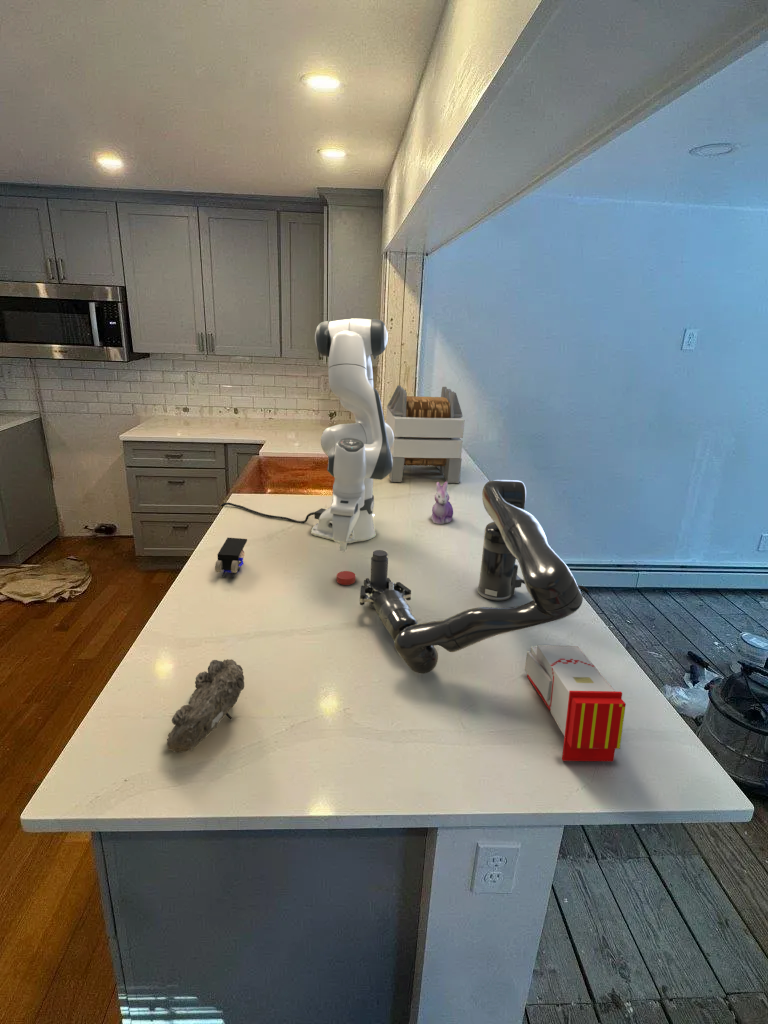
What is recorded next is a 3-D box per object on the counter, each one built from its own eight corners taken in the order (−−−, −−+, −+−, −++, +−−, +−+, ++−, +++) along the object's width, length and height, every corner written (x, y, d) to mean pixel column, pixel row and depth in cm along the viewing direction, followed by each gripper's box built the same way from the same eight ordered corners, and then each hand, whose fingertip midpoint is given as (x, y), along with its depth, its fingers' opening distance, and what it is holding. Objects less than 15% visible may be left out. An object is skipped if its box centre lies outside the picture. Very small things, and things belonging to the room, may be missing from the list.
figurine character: (238, 584, 162) (249, 557, 175) (236, 562, 158) (247, 536, 172) (215, 584, 161) (227, 556, 175) (212, 561, 158) (225, 535, 171)
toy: (573, 628, 126) (635, 699, 97) (567, 683, 129) (626, 769, 99) (519, 627, 125) (565, 698, 96) (514, 682, 128) (557, 768, 99)
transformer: (382, 463, 289) (386, 382, 275) (445, 464, 293) (451, 384, 279) (390, 482, 257) (394, 392, 243) (460, 483, 261) (468, 394, 247)
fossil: (192, 660, 117) (244, 628, 112) (224, 691, 120) (276, 661, 115) (142, 746, 98) (202, 712, 93) (182, 779, 101) (242, 748, 96)
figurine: (438, 526, 208) (441, 487, 203) (424, 517, 217) (426, 479, 211) (459, 522, 212) (463, 484, 207) (444, 514, 221) (447, 477, 216)
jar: (375, 611, 148) (378, 557, 143) (366, 604, 152) (368, 551, 146) (388, 606, 151) (391, 553, 146) (379, 599, 154) (381, 548, 149)
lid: (354, 576, 167) (354, 570, 166) (356, 584, 162) (356, 579, 161) (336, 576, 166) (336, 570, 166) (336, 585, 161) (337, 579, 161)
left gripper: (344, 484, 166) (343, 527, 171) (328, 510, 147) (327, 557, 152) (366, 486, 165) (363, 530, 170) (352, 513, 146) (350, 560, 152)
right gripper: (365, 628, 136) (349, 595, 151) (421, 622, 140) (400, 590, 155) (366, 601, 133) (350, 569, 149) (423, 595, 137) (401, 565, 152)
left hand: (346, 543), depth 161 cm, fingers open, 8 cm apart
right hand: (375, 580), depth 152 cm, fingers closed on jar, 4 cm apart
